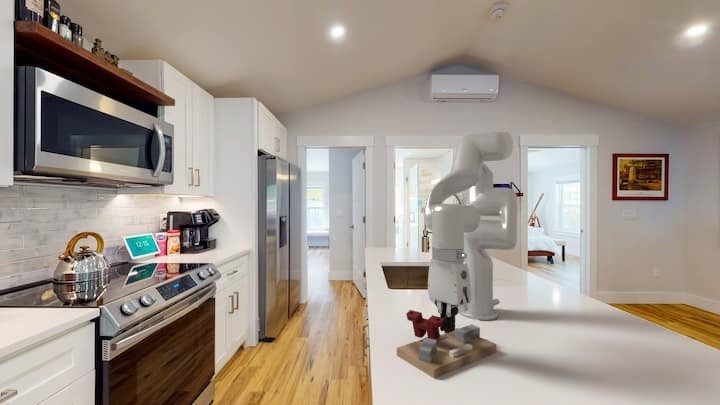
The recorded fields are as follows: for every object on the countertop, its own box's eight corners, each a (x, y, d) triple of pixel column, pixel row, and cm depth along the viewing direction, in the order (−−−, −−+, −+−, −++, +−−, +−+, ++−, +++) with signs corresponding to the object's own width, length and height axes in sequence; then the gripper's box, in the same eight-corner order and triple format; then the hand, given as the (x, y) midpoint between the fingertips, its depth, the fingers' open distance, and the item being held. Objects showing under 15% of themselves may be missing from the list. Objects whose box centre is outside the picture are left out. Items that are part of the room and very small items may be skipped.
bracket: (439, 324, 74) (404, 315, 81) (442, 346, 75) (408, 335, 82) (444, 318, 76) (410, 309, 83) (448, 339, 77) (414, 329, 84)
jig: (457, 335, 88) (457, 318, 88) (496, 352, 78) (496, 333, 78) (396, 355, 76) (396, 337, 76) (433, 379, 66) (433, 357, 66)
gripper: (484, 258, 73) (484, 338, 73) (435, 250, 85) (434, 318, 85) (463, 261, 69) (463, 346, 68) (414, 252, 81) (414, 324, 81)
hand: (447, 330), depth 77 cm, fingers closed on bracket
